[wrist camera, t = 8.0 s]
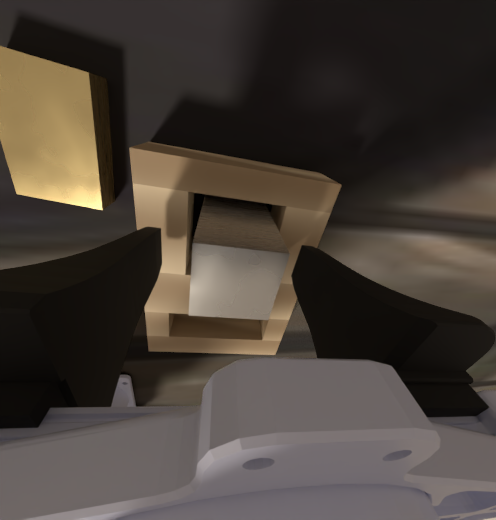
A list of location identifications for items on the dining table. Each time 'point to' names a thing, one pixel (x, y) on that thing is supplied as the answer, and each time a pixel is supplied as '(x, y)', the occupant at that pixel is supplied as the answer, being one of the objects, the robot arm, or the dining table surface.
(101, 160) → the tan rectangular block
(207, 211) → the square bit
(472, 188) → the dining table surface
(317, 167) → the dining table surface
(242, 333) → the socket block
